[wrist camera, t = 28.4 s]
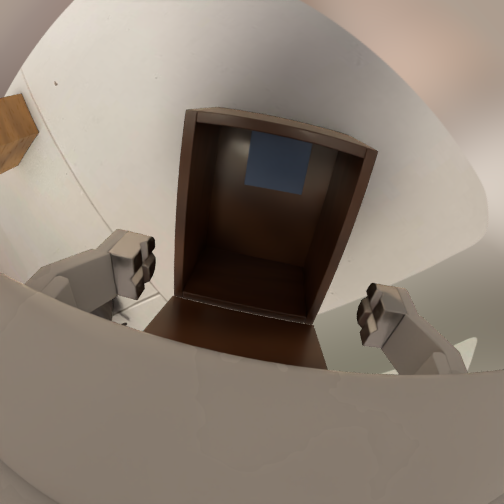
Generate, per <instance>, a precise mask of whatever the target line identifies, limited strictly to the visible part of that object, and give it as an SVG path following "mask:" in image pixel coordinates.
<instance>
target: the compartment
mask: <svg viewBox="0 0 504 504" xmlns="http://www.w3.org/2000/svg"><path fill="white" fill-rule="evenodd" d="M252 131H257V132H262V133H267V134H272V135H277V136H282V137H286V138H291V139H295V140H299V141H304V142H308V143H312V149H311V154H310V159H309V163H308V168H307V173H306V177H305V182H304V186H303V191H302V195H299V194H294V193H289V192H284V191H278V190H273V189H267V188H262V187H256V186H250V185H245V184H244V182H245V175H246V168H247V161H248V154H249V147H250V141H251V134H252ZM377 153H378V151H377V150H375V149H373V148H371V147H370V146H368V145H366V144H364V143H362V142H361V141H359V140H357V139H355V138H353V137H351V136H349V135H346V134H343V133H340V132H336V131H333V130H329V129H326V128H322V127H318V126H315V125H311V124H307V123H303V122H298V121H294V120H290V119H285V118H280V117H276V116H271V115H265V114H260V113H254V112H248V111H242V110H236V109H229V108H221V107H211V108H199V109H189V110H186V114H185V121H184V129H183V137H182V146H181V156H180V166H179V178H178V191H177V206H176V225H175V255H174V296H177V297H181V298H185V299H189V300H194V301H198V302H202V303H206V304H210V305H215V306H219V307H224V308H228V309H233V310H237V311H242V312H247V313H252V314H257V315H262V316H267V317H272V318H277V319H282V320H288V321H293V322H299V323H305V324H310V325H312V324H313V322H314V320H315V317H316V315H317V313H318V311H319V309H320V307H321V304H322V302H323V300H324V298H325V295H326V293H327V291H328V289H329V286H330V284H331V282H332V279H333V277H334V274H335V272H336V270H337V267H338V265H339V262H340V260H341V257H342V255H343V252H344V250H345V247H346V245H347V242H348V239H349V237H350V234H351V231H352V229H353V226H354V223H355V220H356V218H357V215H358V212H359V209H360V206H361V203H362V200H363V198H364V195H365V192H366V188H367V185H368V182H369V179H370V176H371V173H372V170H373V166H374V163H375V160H376V156H377Z"/></svg>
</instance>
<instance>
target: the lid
mask: <svg viewBox="0 0 504 504" xmlns="http://www.w3.org/2000/svg"><path fill="white" fill-rule="evenodd" d="M143 332H146V333H149V334H152V335H156V336H159V337H163V338H166V339H170V340H173V341H177V342H181V343H184V344H188V345H192V346H196V347H200V348H204V349H209V350H213V351H217V352H222V353H226V354H231V355H236V356H241V357H246V358H251V359H256V360H262V361H268V362H274V363H280V364H286V365H293V366H300V367H307V368H315V369H324V370H328V369H327V366H326V363H325V359H324V356H323V353H322V350H321V347H320V344H319V341H318V338H317V335H316V331H315V329H314V325H309V324H303V323H297V322H292V321H286V320H281V319H275V318H270V317H265V316H260V315H255V314H250V313H245V312H241V311H236V310H231V309H227V308H222V307H218V306H213V305H209V304H205V303H201V302H196V301H192V300H188V299H184V298H180V297H176V296H172V297H171V299H170V300H169V301H168V302H167V303H166V304H165V306H164V307H163V308H162V309H161V310H160V312H159V313H158V314H157V315H156V316H155V317H154V319H153V320H152V321H151V322H150V323H149V325H148V326H147V327H146V328H145V329H144V331H143Z"/></svg>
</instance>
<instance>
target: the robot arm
mask: <svg viewBox="0 0 504 504" xmlns="http://www.w3.org/2000/svg"><path fill="white" fill-rule="evenodd" d="M154 248H155V239H154V238H153V237H151V236H147V235H143V234H139V233H135V232H131V231H130V232H129V231H126V230H121V229H116V230H115V231H114V232H113V233H112V234H111V235H110V236H109V237H108V238H107V239H106V240H105V241H104V242H103V243H102V244H101V245H100V246H99V247H98V248H97V249H96V250H95V249H90V250H88V251H85V252H82V253H79V254H76V255H73V256H71V257H68V258H65V259H62V260H59V261H57V262H54V263H51V264H49V265H46V266H43V267H41V268H40V269H39V270H38V271H37V272H36V273H35V274H34V275H33V276H32V277H31V278H30V279H29V280H28V281H27V282H26V283H25V284H22V283H20V282H18V281H16V280H14V279H12V278H11V277H9V276H7V275H5V274H3V273H1V272H0V504H504V369H503V370H495V371H486V372H475V373H468V372H467V369H466V367H465V364H464V362H463V359H462V357H461V354H460V352H459V351H458V350H457V349H456V348H455V347H454V346H453V345H452V344H451V343H450V342H449V341H448V340H446V339H445V338H444V337H443V336H442V335H441V334H440V333H439V332H438V331H437V330H436V329H435V328H434V327H433V326H431V324H430V323H428V322H427V321H426V320H425V319H424V318H423V317H421V316H419V315H418V313H417V310H416V308H415V306H414V303H413V301H412V299H411V297H410V295H409V293H408V291H407V290H406V289H405V288H400V287H393V286H387V285H381V284H376V283H371V284H370V286H369V287H368V289H367V291H366V292H367V297H366V298H364V299H362V300H361V303H360V305H359V306H358V311H357V321H358V324H359V325H360V326H361V327H362V330H361V331H360V336H361V340H362V345H363V346H369V347H377V348H381V349H382V351H383V352H384V354H385V355H386V356H387V358H388V359H389V361H390V362H391V363H392V365H393V366H394V368H395V369H396V370H397V372H398V373H399V375H394V374H369V373H354V372H343V371H333V370H324V369H315V368H307V367H300V366H293V365H286V364H280V363H274V362H268V361H262V360H256V359H251V358H246V357H241V356H236V355H231V354H226V353H222V352H217V351H213V350H209V349H204V348H200V347H196V346H192V345H188V344H184V343H181V342H177V341H173V340H170V339H166V338H163V337H159V336H156V335H152V334H149V333H146V332H143V331H140V330H136V329H133V328H130V327H127V326H124V325H121V324H118V323H115V322H113V321H110V320H107V319H104V318H101V317H99V316H96V315H93V314H91V313H90V312H92V311H93V310H95V309H97V308H98V307H100V306H101V305H103V304H105V303H106V302H108V301H110V300H111V299H113V298H115V297H116V296H117V295H120V296H123V297H127V298H131V299H134V300H138V298H139V297H140V295H141V294H142V292H143V291H144V289H145V287H144V283H146V282H149V281H150V280H151V278H152V276H153V273H154V270H155V264H156V259H155V256H154V255H153V253H152V251H153V250H154Z"/></svg>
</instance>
